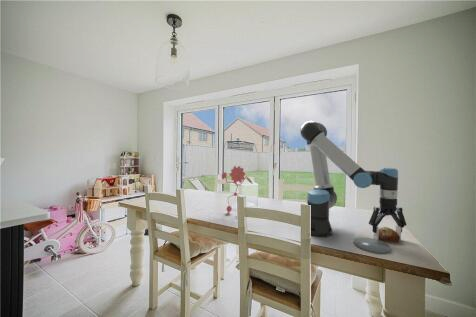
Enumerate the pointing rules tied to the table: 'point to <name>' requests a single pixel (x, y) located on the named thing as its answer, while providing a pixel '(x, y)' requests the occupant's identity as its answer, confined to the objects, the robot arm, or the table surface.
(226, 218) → the table surface
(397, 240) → the bread roll
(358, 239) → the plate
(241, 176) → the red flower ornament
